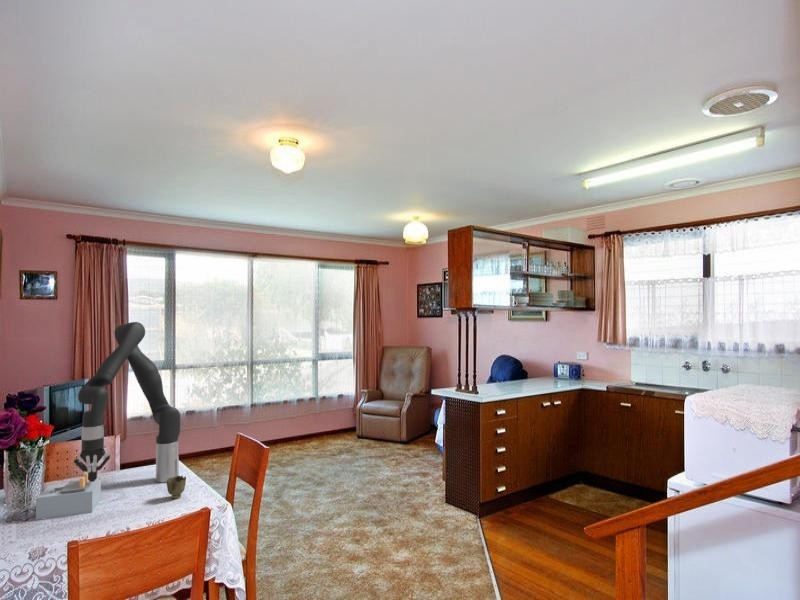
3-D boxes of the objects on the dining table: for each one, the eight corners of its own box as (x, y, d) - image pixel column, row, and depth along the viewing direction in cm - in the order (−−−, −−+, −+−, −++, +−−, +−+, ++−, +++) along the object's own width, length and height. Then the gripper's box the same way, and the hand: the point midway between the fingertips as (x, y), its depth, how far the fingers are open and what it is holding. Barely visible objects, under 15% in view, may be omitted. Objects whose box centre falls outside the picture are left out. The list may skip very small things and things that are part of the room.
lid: (92, 480, 196) (92, 470, 196) (84, 490, 185) (84, 479, 185) (69, 483, 193) (69, 472, 193) (60, 493, 182) (60, 481, 182)
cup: (162, 499, 197) (162, 479, 197) (178, 493, 203) (178, 474, 204) (174, 502, 193) (174, 482, 194) (190, 496, 200) (190, 476, 200)
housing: (100, 499, 198) (101, 479, 198) (92, 512, 185) (92, 491, 185) (48, 506, 191) (48, 485, 192) (35, 519, 178) (36, 498, 179)
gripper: (113, 433, 197) (113, 476, 197) (76, 436, 193) (75, 480, 192) (110, 437, 190) (109, 481, 190) (70, 440, 186) (70, 486, 185)
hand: (92, 481), depth 191 cm, fingers closed
